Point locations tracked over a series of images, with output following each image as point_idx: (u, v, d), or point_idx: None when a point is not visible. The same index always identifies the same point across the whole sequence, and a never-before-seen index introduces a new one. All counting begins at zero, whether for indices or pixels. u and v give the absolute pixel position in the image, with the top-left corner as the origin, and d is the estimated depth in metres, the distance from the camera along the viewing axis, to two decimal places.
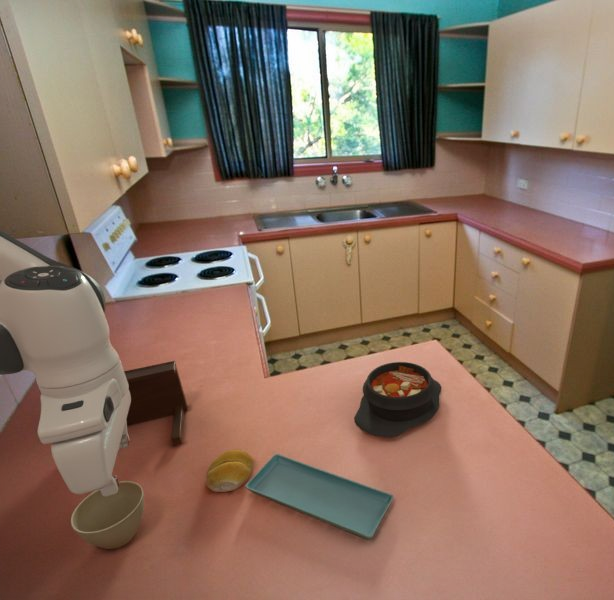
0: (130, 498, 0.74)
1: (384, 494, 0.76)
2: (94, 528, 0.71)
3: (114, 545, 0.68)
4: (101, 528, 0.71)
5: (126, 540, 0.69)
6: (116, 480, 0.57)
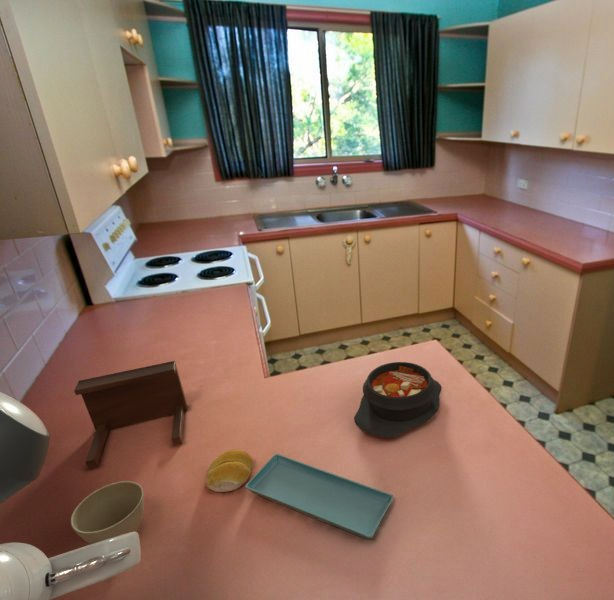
0: (130, 498, 0.74)
1: (384, 494, 0.76)
2: (94, 528, 0.71)
3: None
4: (101, 528, 0.71)
5: None
6: None
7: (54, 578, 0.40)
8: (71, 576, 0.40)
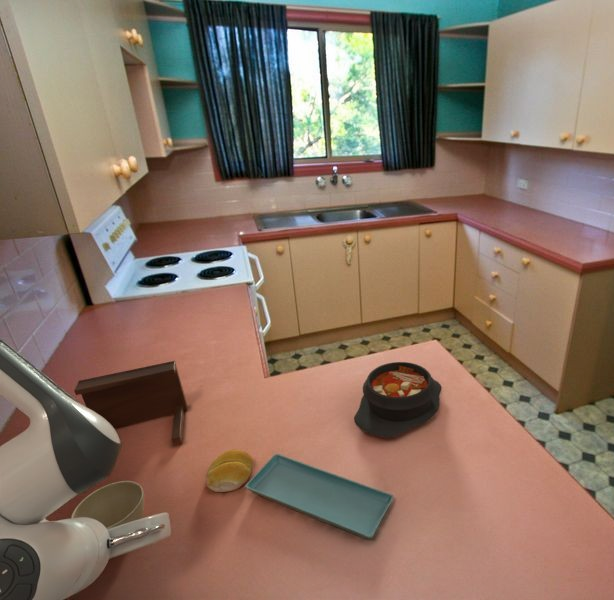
0: (130, 498, 0.74)
1: (384, 494, 0.76)
2: None
3: None
4: None
5: None
6: None
7: (113, 542, 0.55)
8: (124, 541, 0.56)
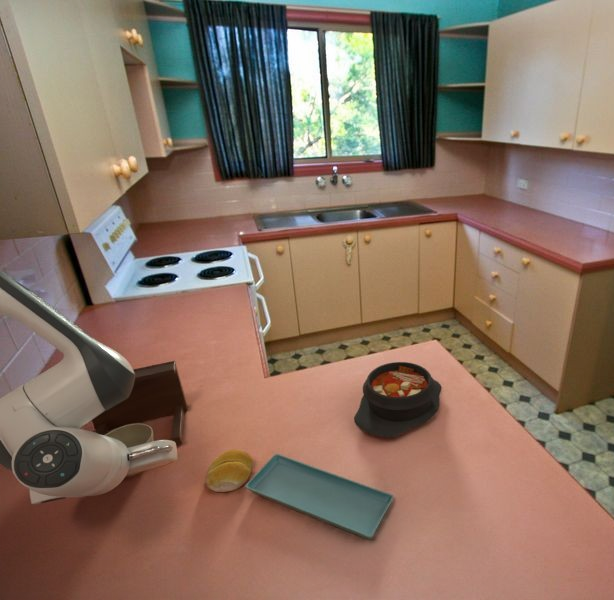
0: (140, 438, 0.88)
1: (384, 494, 0.76)
2: None
3: None
4: None
5: None
6: None
7: (132, 456, 0.69)
8: (141, 456, 0.70)
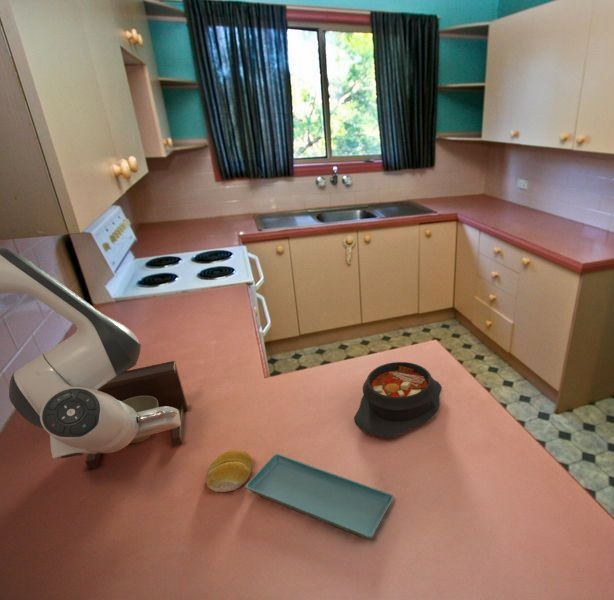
0: (147, 409, 0.97)
1: (384, 494, 0.76)
2: None
3: (138, 438, 0.91)
4: None
5: None
6: None
7: (140, 419, 0.78)
8: (148, 419, 0.78)
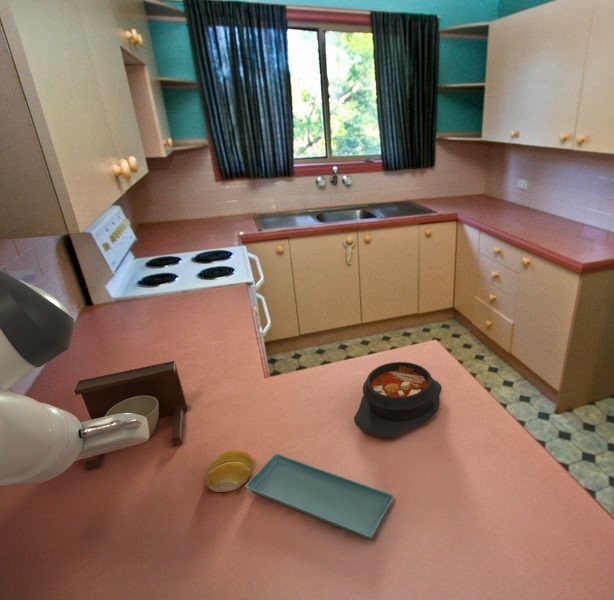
0: (147, 409, 0.97)
1: (384, 494, 0.76)
2: None
3: None
4: None
5: None
6: None
7: (85, 432, 0.53)
8: (97, 432, 0.53)
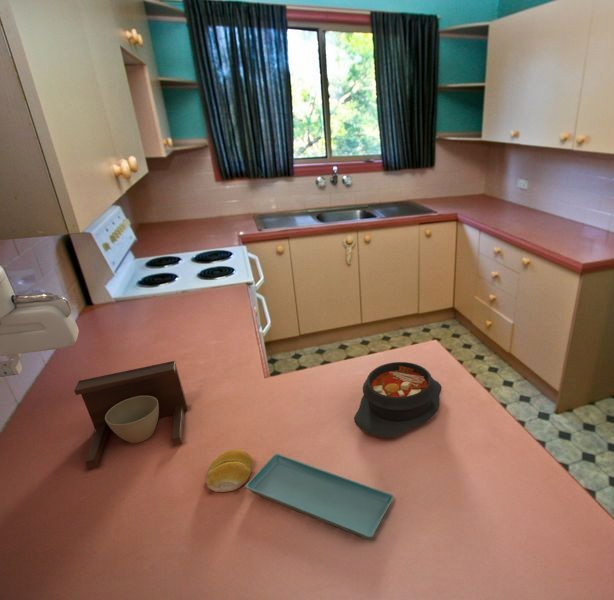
0: (147, 409, 0.97)
1: (384, 494, 0.76)
2: None
3: (138, 438, 0.91)
4: None
5: (146, 435, 0.92)
6: None
7: (18, 296, 0.60)
8: (28, 298, 0.60)
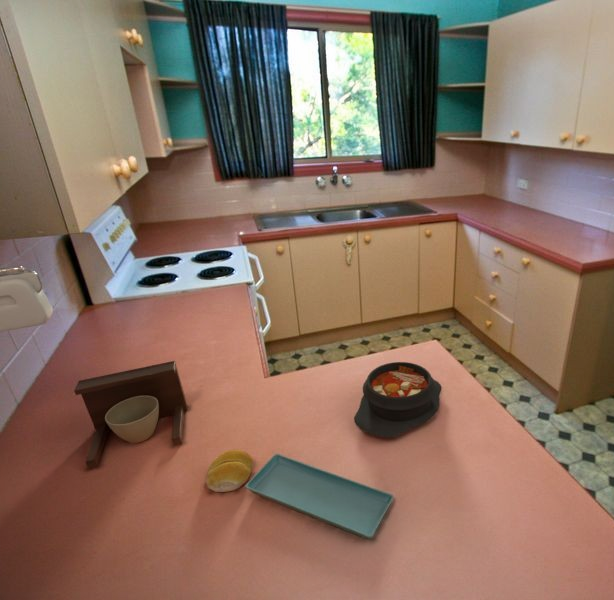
0: (147, 409, 0.97)
1: (384, 494, 0.76)
2: None
3: (138, 438, 0.91)
4: None
5: (146, 435, 0.92)
6: None
7: None
8: None
